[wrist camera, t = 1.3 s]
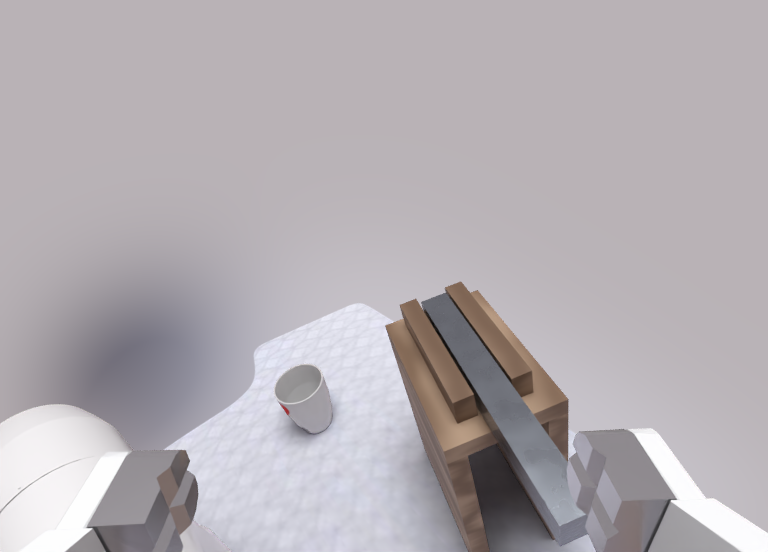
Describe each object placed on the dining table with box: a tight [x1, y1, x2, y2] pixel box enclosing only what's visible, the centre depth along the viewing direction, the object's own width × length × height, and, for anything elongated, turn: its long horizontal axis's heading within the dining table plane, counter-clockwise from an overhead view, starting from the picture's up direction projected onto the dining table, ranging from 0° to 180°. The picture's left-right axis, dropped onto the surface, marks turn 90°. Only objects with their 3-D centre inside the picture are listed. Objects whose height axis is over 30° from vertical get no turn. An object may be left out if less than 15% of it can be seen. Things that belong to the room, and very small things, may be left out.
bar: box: [422, 293, 588, 546], centre depth 41 cm, size 3×26×3 cm, turn 17°
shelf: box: [386, 282, 568, 552], centre depth 53 cm, size 12×18×29 cm, turn 17°
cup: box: [274, 364, 332, 434], centre depth 74 cm, size 8×8×10 cm
